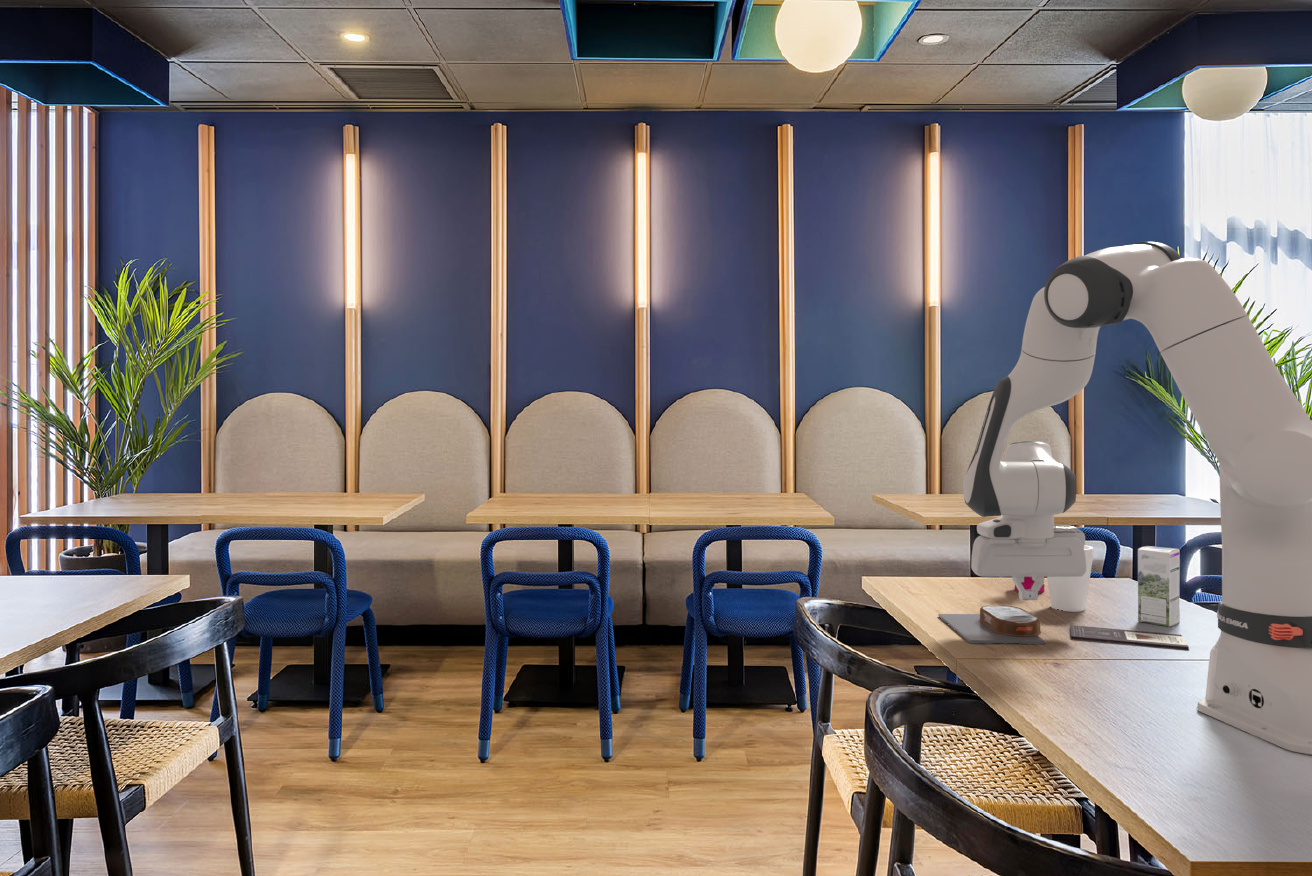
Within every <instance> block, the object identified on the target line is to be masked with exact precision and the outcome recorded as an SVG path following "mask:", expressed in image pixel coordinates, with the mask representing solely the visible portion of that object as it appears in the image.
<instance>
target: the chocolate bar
mask: <svg viewBox="0 0 1312 876" xmlns="http://www.w3.org/2000/svg"><path fill="white" fill-rule="evenodd" d="M1069 630H1070V639H1071V640H1073V641H1074V640H1075V641H1085V642H1095V643H1107V644H1117V645H1126V646H1127V645H1131V646H1140V647H1152V648H1162V649H1172V650H1180V651H1181V650H1184V651H1190V647H1189V645H1188V643H1187V641H1186V640H1185V638H1184V637H1183V635H1182V634H1177V633H1164V632H1154V631H1141V630H1134V629H1133V630H1131V629H1122V628H1121V629H1119V628H1110V627H1109V628H1107V627H1094V626H1086V625H1075V624H1070V625H1069Z"/></svg>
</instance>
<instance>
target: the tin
mask: <svg viewBox="0 0 1312 876" xmlns="http://www.w3.org/2000/svg"><path fill="white" fill-rule="evenodd" d="M979 614H980V619H979V620H980V622H982V623H983V624H984V625H986V626H987V627H989V628H990V629H991V630H993V631H994V632H997V633H1000V634H1004V635H1010V636H1021V637H1029V636H1039V635H1041V634H1042V631H1041V619H1040V618H1039V617H1037V616H1035V615H1034V614H1032V613H1030V612H1029V611H1027V610H1026V609H1023V608H1021V607H1019V606H1018V607H1017V606H1012V605H1007V604H1006V605H982V606H981V607H980V609H979Z"/></svg>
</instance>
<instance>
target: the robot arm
mask: <svg viewBox="0 0 1312 876" xmlns="http://www.w3.org/2000/svg"><path fill="white" fill-rule="evenodd" d="M1044 285H1045V286H1044V287H1042V288H1041V289H1040V290H1038V291H1037V292H1036V293H1035V295H1034V296H1033V299H1032V301H1031V304H1030V308H1029V310H1028V314H1027V317H1026V320H1025V325H1024V331H1023V335H1022V341H1021V342H1022V343H1021V349H1020V350H1021V351H1020V354H1019V358H1018V361H1017V363H1016V365H1015V366H1014V368H1013V369H1012V370H1011V372H1010V373H1009V374H1008V375H1007V376H1005V377H1004V378H1003V377H1002V379H1000V380H999V381H997V383H996V386H995V387H994V390H993V392H992V395H991V396H990V397H991V398H990V400H989V403H988V406H987V409H986V413H985V416H984V420H983V423H982V426H981V429H980V433H979V436H978V440H977V443H976V446H975V450H974V453H973V456H972V458H971V461H970V463H969V465H968V468H967V471H966V473H965V477H964V480H963V485H962V486H963V487H962V492H963V493H962V494H963V499H964V503H965V505H967V506H968V508H969V509H971V510H972V512H974V513H976V514H977V515H979V516H980V517H982V518H987V517H990V518H991V517H994V518H993V519H989V520H985V521H981V522H979V523H978V524H977V525H976V531H977V534H979V535H978V536H977V537H976V538H975V539H974V542H973V544H972V551H971V560H970V561H971V563H970V564H971V566H970V567H971V570H972V571H973V573H974V574H975V575H977V576H979V577H994V578H995V577H998V578H999V577H1002V578H1003V577H1006V578H1007V577H1011V578H1012V582H1013V583H1014V586H1015V585H1016V587H1017V588H1018V590H1019V591H1018V599H1019V600H1020V601H1038V600H1039V593H1038V591H1039V590H1040V588H1041V587H1042V585H1043V584H1044V585H1045V578H1047V577H1082V576H1083V575H1084V574H1085V572H1086V558H1085V552H1084V546H1085V545H1086V534H1085V533H1084V531H1082V530H1081V529H1080V528H1078V527H1076V526H1069V527H1066V526H1065V527H1064V526H1055V515H1059V514H1060V515H1061V514H1064V513H1066V512H1067V511H1068V510H1069V509H1070V508H1071V507H1072V506H1073V505H1074V504H1075V503H1076V501H1077V500H1076V499H1077V477H1076V474H1075V472H1073V471H1072V469H1070V468H1069V467H1068V466H1067V465H1066V464H1065V463H1063V462H1058V461H1057V460H1056V459H1054V457H1053V453H1052V447H1051V444H1049V443H1047V442H1045V441H1041V440H1040V441H1038V440H1023V441H1015V442H1013V443H1010V444H1009V445H1007V442H1008V440H1009V437H1010V436H1009V435H1010V433H1011V430H1012V428H1013V427H1014V426H1015V424H1016V423H1017V422H1019V420H1021V419H1023V418H1024V417H1027V416H1028V415H1031V414H1033V413H1036V412H1037V411H1040V410H1043V409H1047V408H1050V407H1052V406H1056V405H1060V404H1063V403H1064V402H1066V401H1068V400H1070V399H1072V398H1073V397H1075V396H1076V395H1078V394H1079V393H1080V392H1082V390H1083V389H1084V388H1085V387H1086V386H1087V385H1088V383H1089V381H1090V379H1091V377H1092V373H1093V368H1094V366H1095V365H1094V364H1095V358H1096V351H1097V343H1098V342H1097V341H1098V337H1099V336H1098V335H1099V332H1100V329H1101V327H1104V326H1111V325H1118V324H1120V323H1122V322H1123V321H1127V320H1130V319H1131V320H1135V321H1137V322H1140V323H1141V324H1143V326H1144V327H1145V328H1146V329H1147V331H1149V333H1150V335H1151V336H1152V338H1153V340H1154V343H1155V345H1156V347H1157V349H1158V351H1159V353H1160V355H1161V357H1162V359H1163V360H1164V363H1165V365H1166V366H1167V368H1168V370H1169V372H1170V375H1171V376H1172V378H1173V381H1174V382H1175V384H1176V386H1177V388H1178V390H1179V392H1180V394H1181V395H1182V398H1183V400H1184V401H1185V403H1186V406H1187V407H1188V408H1189V411H1190V412H1191V414H1192V415H1193V418H1194V419H1195V421H1196V423H1197V424H1198V426H1199V428H1200V430H1201V432H1202V434H1203V435H1204V437H1205V439H1206V441H1207V443H1208V445H1209V447H1210V448H1211V450H1212V452H1213V454H1214V455H1215V457H1216V460H1217V461H1218V463H1219V465H1218V466H1219V468H1218V469H1219V498H1220V499H1219V500H1220V501H1219V503H1220V504H1219V505H1220V527H1221V576H1222V577H1221V594H1222V595H1221V601H1219V603H1218V604H1217V605H1218V609H1217V612H1216V618H1217V628H1218V629H1219V630H1220V634H1219V637H1218V639H1217V641H1216V643H1215V644H1214V645H1213V647H1212V648H1211V650H1210V651H1209V661H1208V670H1207V676H1206V677H1207V679H1206V680H1207V681H1206V691H1205V698H1203V699H1199V701H1198V702H1197V708H1196V709H1197V711H1199V712H1200V713H1203V714H1205V715H1208V716H1210V717H1212V718H1214V719H1217V720H1219V721H1221V722H1224V723H1226V724H1227V725H1230V726H1232V727H1235V728H1236V729H1239V730H1242V731H1244V732H1247V733H1249V734H1251V735H1253V736H1255V737H1257V738H1260V739H1262V740H1264V741H1267V742H1268V743H1271V744H1273V745H1276V746H1278V747H1281V748H1283V749H1285V750H1287V751H1290V752H1295V753H1300V754H1306V755H1312V420H1311V418H1310V417H1309V415H1308V414H1307V412H1306V410H1305V409H1304V407H1303V406H1302V405H1301V403H1300V401H1299V399H1298V398H1297V397H1296V395H1295V394H1294V392H1293V391H1292V389H1291V388H1290V386H1289V385H1288V383H1287V381H1286V379H1285V378H1284V377H1283V375H1282V374H1281V373H1280V371H1279V369H1278V368H1277V366H1276V364H1275V362H1274V359H1272V357H1271V356H1270V353H1269V351H1268V350H1267V348H1266V345H1265V344H1264V342H1263V341H1262V339H1261V337H1260V334H1259V333H1258V331H1257V330H1256V328H1255V326H1254V324H1253V322H1252V321H1251V318H1250V317H1249V316H1248V313H1247V312H1246V309H1245V308H1244V307H1243V304H1242V303H1241V302H1240V300H1239V299H1238V297H1237V295H1236V294H1235V293H1234V291H1233V290H1232V288H1231V287H1230V286H1229V284H1228V283H1227V282H1226V281H1225V280H1224V278H1223V277H1222V276H1221V274H1220V273H1218V271H1217V270H1216V269H1215V268H1214V267H1213V266H1212V265H1211V264H1210V263H1209V262H1207V261H1206V260H1203V259H1200V258H1197V257H1195V258H1194V257H1187V258H1182V257H1181V255H1180V254H1179V252H1177V250H1175V249H1174V248H1173V247H1170V246H1169V245H1167V244H1164V243H1162V242H1155V241H1138V242H1135V243H1133V244H1128V245H1121V246H1111V247H1106V248H1103V249H1102V248H1101V249H1099V250H1096V251H1093V252H1090V253H1088V254H1086V255H1082V256H1081V255H1080V256H1075V257H1073V258H1071V259H1068V260H1066V262H1064V263H1062V264H1060V265H1059V266H1057V267H1056V268H1055V269H1054V270H1053V271H1052V272H1051V273H1050V274H1049V276H1048V278H1047V279H1046V282H1045V284H1044ZM1006 445H1007V447H1006ZM1005 448H1006V451H1005ZM1004 451H1005V452H1004ZM1004 453H1005V454H1004ZM1003 455H1004V461H1003V460H1002V458H1003ZM995 517H996V518H995ZM1024 577H1032V580H1034V581H1035V582H1034V584H1033V586H1032V588H1031V589H1024V587H1023V585H1022V584H1021V582H1024ZM1044 577H1045V578H1044Z"/></svg>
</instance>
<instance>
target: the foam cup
mask: <svg viewBox="0 0 1312 876" xmlns="http://www.w3.org/2000/svg"><path fill="white" fill-rule="evenodd" d="M1084 552H1085V558H1086V572H1085V574H1084V575H1083V576H1082V577H1046V579H1047V586H1048V593H1049V600H1050V601H1049V602H1050V604H1051V608H1052V609H1054V608H1055V609H1054V610H1057V609H1059V610H1058V611H1061V610H1063V612H1073V613H1074V612H1077V613H1078V612H1084V611H1085V610H1086V606H1087V599H1088V595H1089V587H1090V582H1091V581H1090V580H1091V575H1092V574H1091V572H1092V567H1093V560H1094V559H1095V557H1094V556H1095V555H1094V554H1095V549H1094V547H1093V546H1090V545H1086V544H1085V546H1084Z"/></svg>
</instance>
